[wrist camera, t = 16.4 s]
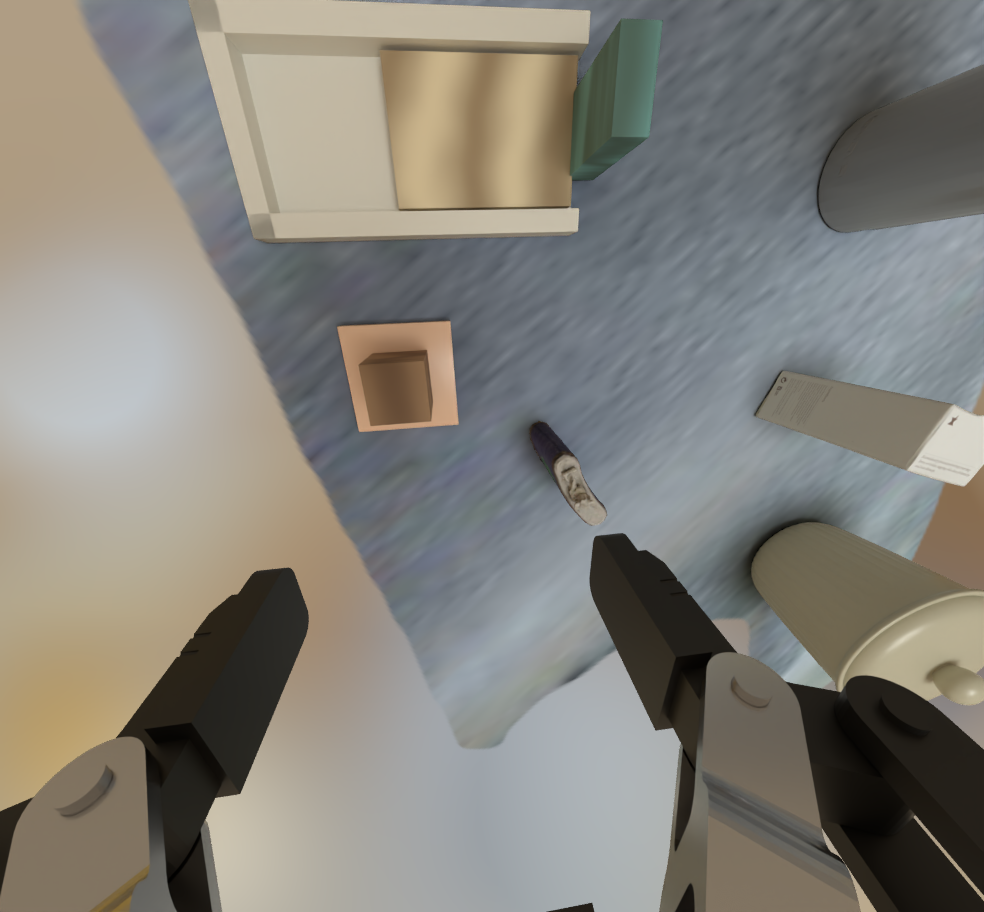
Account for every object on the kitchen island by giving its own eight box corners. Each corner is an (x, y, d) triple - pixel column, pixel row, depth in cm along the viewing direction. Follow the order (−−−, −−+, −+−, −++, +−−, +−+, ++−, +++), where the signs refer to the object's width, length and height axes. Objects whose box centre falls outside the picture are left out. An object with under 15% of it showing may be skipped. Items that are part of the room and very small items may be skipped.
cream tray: (578, 34, 26) (590, 10, 24) (568, 235, 32) (577, 231, 29) (210, 22, 24) (186, -6, 21) (268, 242, 29) (253, 238, 27)
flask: (580, 476, 42) (620, 530, 33) (559, 488, 43) (592, 545, 33) (544, 415, 39) (577, 456, 29) (521, 430, 39) (547, 474, 29)
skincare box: (752, 416, 42) (898, 473, 28) (782, 366, 40) (955, 403, 26) (805, 431, 44) (966, 492, 30) (836, 385, 41) (1025, 428, 28)
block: (427, 350, 33) (423, 361, 28) (433, 401, 35) (431, 421, 30) (372, 353, 32) (358, 365, 27) (381, 405, 35) (370, 426, 29)
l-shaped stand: (600, 65, 27) (669, -35, 19) (590, 208, 30) (644, 177, 22) (382, 60, 25) (352, -51, 17) (400, 211, 29) (383, 179, 21)
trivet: (450, 320, 33) (450, 321, 32) (458, 420, 37) (458, 424, 36) (340, 325, 32) (337, 326, 31) (361, 427, 37) (359, 431, 35)
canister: (779, 488, 47) (1007, 620, 28) (870, 516, 51) (1120, 647, 32) (705, 588, 53) (849, 750, 34) (791, 606, 58) (961, 758, 39)
